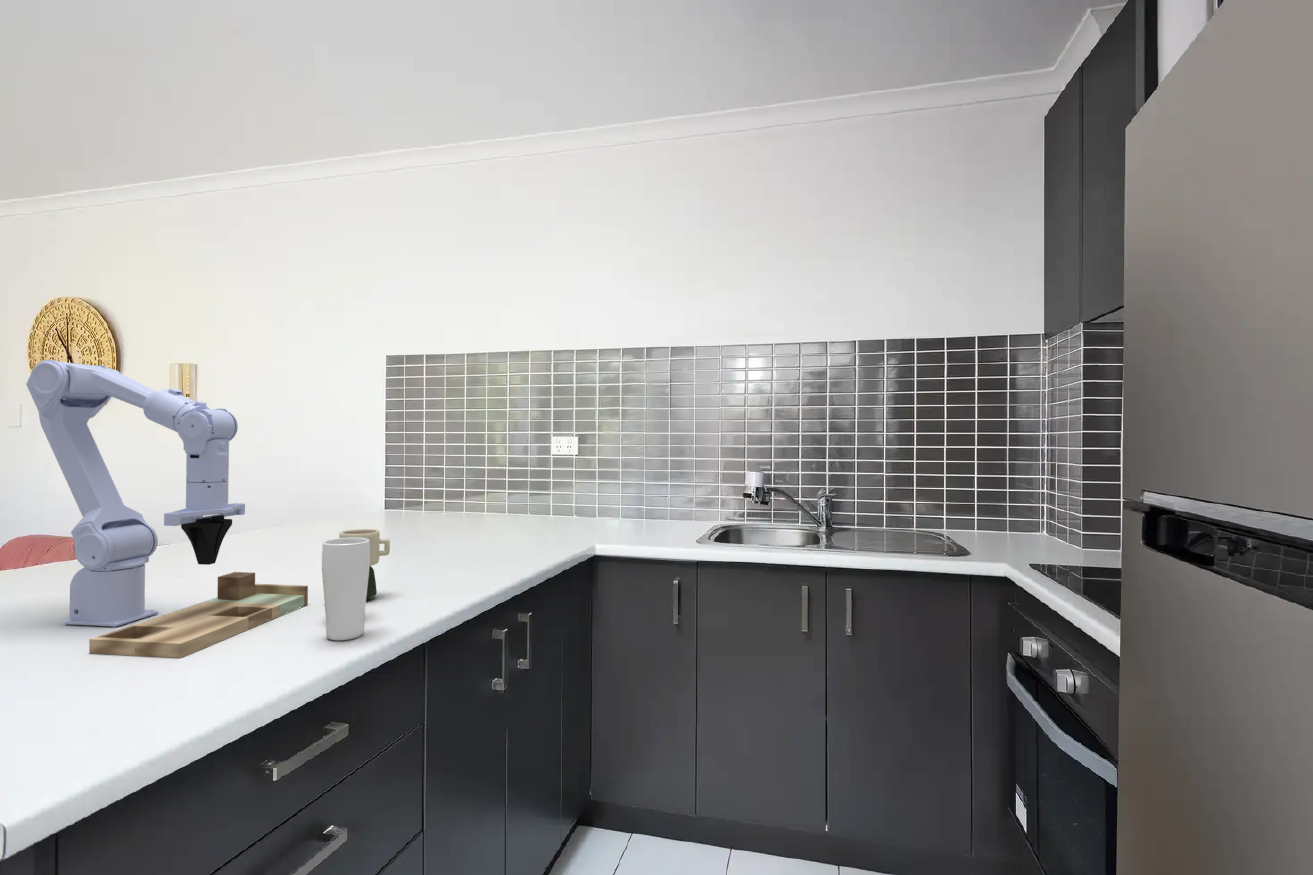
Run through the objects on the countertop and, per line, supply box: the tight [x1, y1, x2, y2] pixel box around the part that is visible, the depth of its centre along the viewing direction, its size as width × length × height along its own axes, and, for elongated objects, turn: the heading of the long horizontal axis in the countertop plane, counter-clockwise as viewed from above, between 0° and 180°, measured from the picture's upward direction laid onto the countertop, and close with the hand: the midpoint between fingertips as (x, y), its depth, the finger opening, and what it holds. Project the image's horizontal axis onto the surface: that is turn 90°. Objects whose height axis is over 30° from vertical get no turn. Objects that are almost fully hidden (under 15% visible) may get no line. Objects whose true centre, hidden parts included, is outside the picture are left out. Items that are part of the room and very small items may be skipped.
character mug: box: [338, 528, 391, 600], centre depth 121 cm, size 11×7×13 cm, turn 125°
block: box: [216, 571, 256, 600], centre depth 114 cm, size 4×4×4 cm
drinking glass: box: [321, 537, 370, 642], centre depth 99 cm, size 7×7×15 cm
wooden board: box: [88, 583, 309, 659], centre depth 104 cm, size 14×28×4 cm, turn 175°
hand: (206, 563), depth 105 cm, fingers closed
